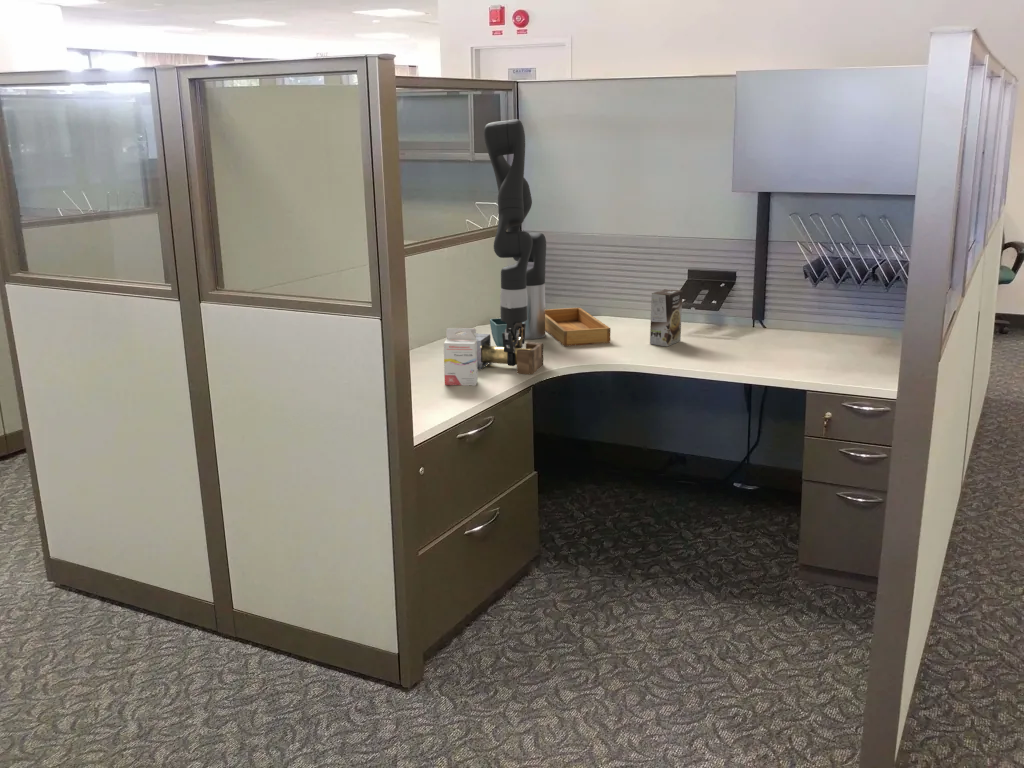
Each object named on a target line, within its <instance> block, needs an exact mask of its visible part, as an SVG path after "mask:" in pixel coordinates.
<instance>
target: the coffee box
mask: <svg viewBox="0 0 1024 768" xmlns="http://www.w3.org/2000/svg"><path fill="white" fill-rule="evenodd" d="M683 292H684V291H683V290H678V289H666V288H665V289H662V290H661V289H660V290H658V291H655V292H651V301H650V302H651V304H650V305H651V306H650V308H651V309H650V329H649V330H650V332H649V344H650V345H655V346H660V347H661V346H662V347H669V346H671V345H675V344H676V343H678V342H681V341H682V340H681V339H682V338H681V336H682V335H681V334H682V333H681V332H682V315H683V314H682V310H683V309H682V308H683Z"/></svg>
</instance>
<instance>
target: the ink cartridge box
mask: <svg viewBox="0 0 1024 768" xmlns="http://www.w3.org/2000/svg"><path fill="white" fill-rule="evenodd" d="M445 331H446V332H445V333H446V339H445V341H444V342H443V366H444V367H443V368H444V369H443V371H444V386H469V385H472V386H477V383H478V369H477V340H476V333H477V329H476V328H473V327H472V328H470V327H469V328H468V327H466V328H465V327H464V328H463V327H447V328H445ZM460 332H462V333H466V335H461V334H459V333H460Z"/></svg>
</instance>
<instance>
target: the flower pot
mask: <svg viewBox="0 0 1024 768" xmlns="http://www.w3.org/2000/svg"><path fill="white" fill-rule="evenodd" d="M522 323H524V322H522ZM489 325H490V330H491V337H492V339H493V342H494V344H495V345H496V346H497V347H503V338H502V333H503V332H504V333H505V329H506V327H507V323H506V322H503V321H501V317H499V318H490V319H489ZM506 346H507V345H506ZM509 347H510V345H509Z"/></svg>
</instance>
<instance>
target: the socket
mask: <svg viewBox="0 0 1024 768" xmlns="http://www.w3.org/2000/svg"><path fill="white" fill-rule="evenodd" d="M525 348H526V349H528V348H532V350H523V349H519V350H517V365H516V374H517V375H518V374H519V375H527V376H528V375H530V376H531V375H534V374H535V373H536V372H538V370H540V369H541V368H542V367H543V366H544V342H533V341H532V342H531V341H530V342H529V341H528V342H526V343H525Z"/></svg>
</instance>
